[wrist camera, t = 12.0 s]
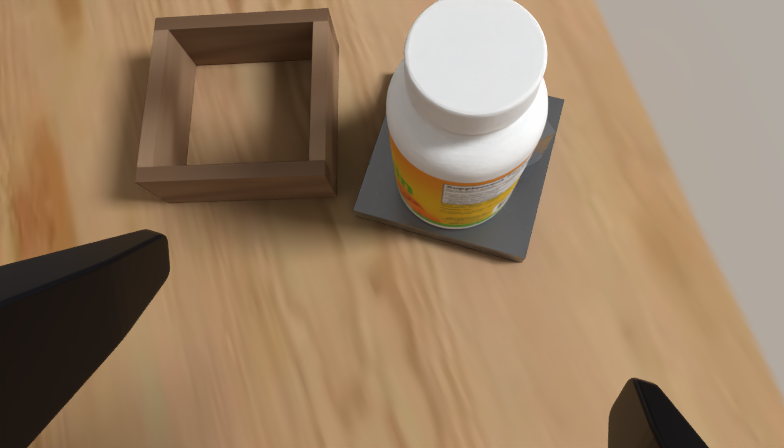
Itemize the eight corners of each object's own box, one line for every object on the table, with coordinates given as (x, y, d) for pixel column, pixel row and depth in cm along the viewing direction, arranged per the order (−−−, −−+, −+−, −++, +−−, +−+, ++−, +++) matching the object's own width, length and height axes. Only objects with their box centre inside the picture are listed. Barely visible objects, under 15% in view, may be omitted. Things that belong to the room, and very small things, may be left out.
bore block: (336, 197, 24) (324, 175, 21) (168, 203, 25) (135, 182, 22) (338, 46, 27) (328, 8, 24) (184, 54, 27) (155, 18, 24)
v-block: (521, 262, 23) (540, 242, 19) (356, 216, 24) (342, 188, 20) (558, 109, 25) (583, 63, 21) (404, 73, 26) (400, 23, 22)
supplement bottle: (386, 133, 24) (364, -13, 15) (498, 113, 24) (546, -47, 14) (406, 241, 22) (395, 156, 13) (525, 220, 22) (598, 119, 13)
